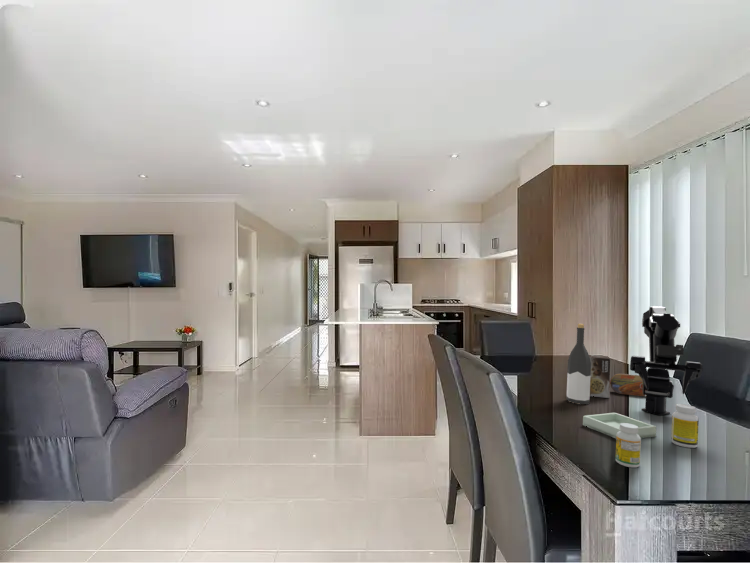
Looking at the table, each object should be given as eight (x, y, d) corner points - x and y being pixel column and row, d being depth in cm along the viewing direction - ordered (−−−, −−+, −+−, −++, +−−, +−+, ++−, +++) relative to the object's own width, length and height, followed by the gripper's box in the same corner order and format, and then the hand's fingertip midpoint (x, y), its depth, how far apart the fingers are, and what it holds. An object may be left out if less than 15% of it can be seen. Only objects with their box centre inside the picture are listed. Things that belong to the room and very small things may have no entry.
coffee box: (606, 394, 178) (608, 355, 178) (609, 398, 172) (611, 358, 172) (582, 392, 181) (583, 353, 181) (584, 395, 175) (586, 356, 175)
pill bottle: (702, 449, 120) (703, 410, 120) (677, 447, 121) (679, 408, 121) (690, 441, 126) (692, 404, 126) (667, 439, 127) (668, 402, 127)
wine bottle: (590, 401, 167) (593, 324, 167) (588, 406, 160) (591, 325, 160) (568, 397, 171) (571, 322, 171) (564, 402, 164) (567, 323, 164)
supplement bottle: (637, 470, 105) (639, 430, 105) (613, 463, 108) (614, 425, 108) (641, 463, 109) (643, 425, 109) (617, 457, 112) (619, 420, 112)
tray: (614, 421, 142) (615, 412, 142) (655, 436, 129) (656, 426, 129) (582, 425, 137) (583, 415, 137) (622, 441, 124) (622, 430, 124)
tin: (610, 392, 182) (610, 372, 182) (609, 391, 185) (609, 371, 185) (651, 397, 177) (652, 377, 177) (649, 395, 180) (650, 375, 180)
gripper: (632, 331, 139) (631, 374, 131) (703, 337, 130) (707, 383, 122) (630, 348, 147) (629, 390, 139) (697, 355, 138) (701, 400, 130)
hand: (665, 391), depth 132 cm, fingers open, 9 cm apart
